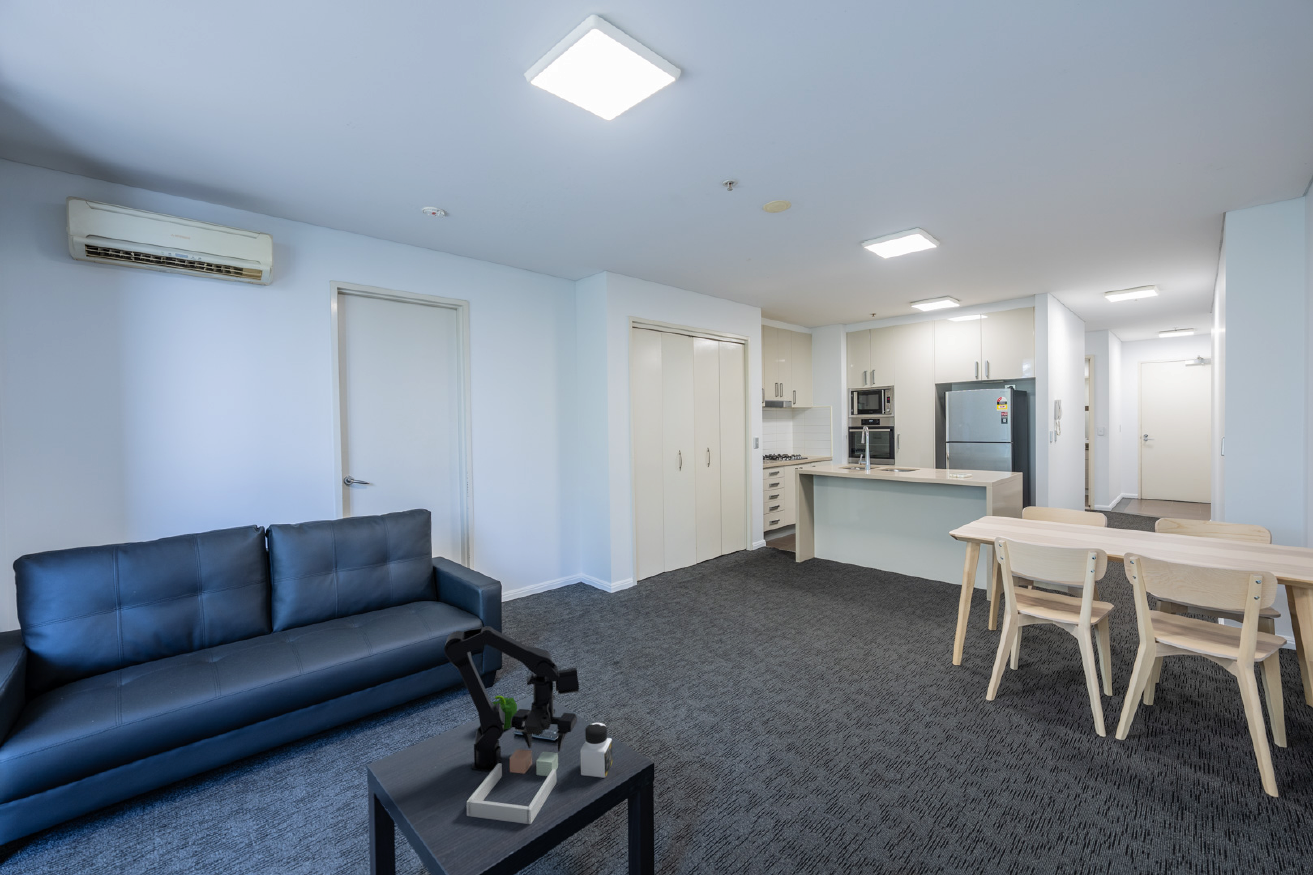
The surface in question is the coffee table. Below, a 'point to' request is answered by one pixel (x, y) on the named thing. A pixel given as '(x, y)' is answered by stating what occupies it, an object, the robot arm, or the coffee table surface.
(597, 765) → the medicine bottle
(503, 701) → the bell pepper
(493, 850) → the coffee table surface
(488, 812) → the box
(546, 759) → the pale green cube
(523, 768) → the salmon pink cube
